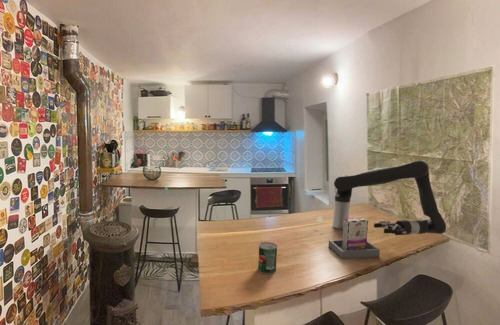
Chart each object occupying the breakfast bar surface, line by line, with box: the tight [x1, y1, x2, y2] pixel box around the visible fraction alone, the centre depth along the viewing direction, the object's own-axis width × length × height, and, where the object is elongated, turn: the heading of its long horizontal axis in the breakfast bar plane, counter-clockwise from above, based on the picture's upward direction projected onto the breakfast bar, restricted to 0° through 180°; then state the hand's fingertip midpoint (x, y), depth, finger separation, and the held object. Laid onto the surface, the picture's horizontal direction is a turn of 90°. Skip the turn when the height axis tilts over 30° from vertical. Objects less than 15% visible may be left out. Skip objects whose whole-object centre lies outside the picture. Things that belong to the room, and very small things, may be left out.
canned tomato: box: [257, 241, 278, 275], centre depth 129 cm, size 8×8×11 cm
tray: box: [328, 239, 381, 260], centre depth 151 cm, size 14×20×4 cm
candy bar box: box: [342, 217, 369, 250], centre depth 150 cm, size 11×5×16 cm, turn 104°
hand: (379, 228), depth 152 cm, fingers open, 8 cm apart
